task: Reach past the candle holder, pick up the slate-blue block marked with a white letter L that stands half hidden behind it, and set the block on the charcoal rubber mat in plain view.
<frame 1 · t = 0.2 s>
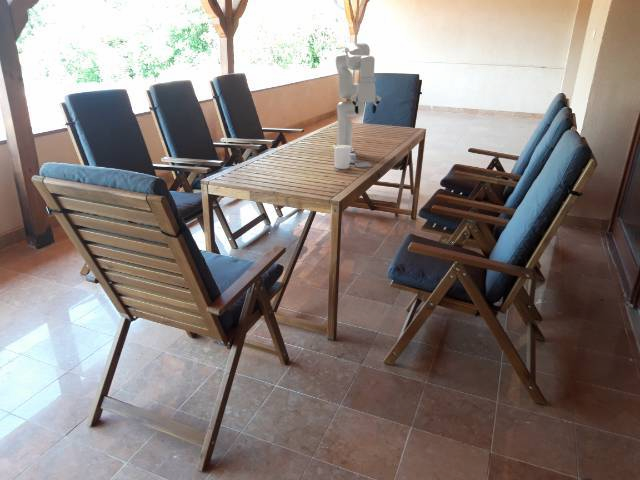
hand: (365, 113, 264), 30 cm above the table, tool pointing down, fingers open, 9 cm apart
letter block: (350, 162, 287), on the table
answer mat: (362, 165, 280), on the table
candle holder: (341, 167, 276), on the table
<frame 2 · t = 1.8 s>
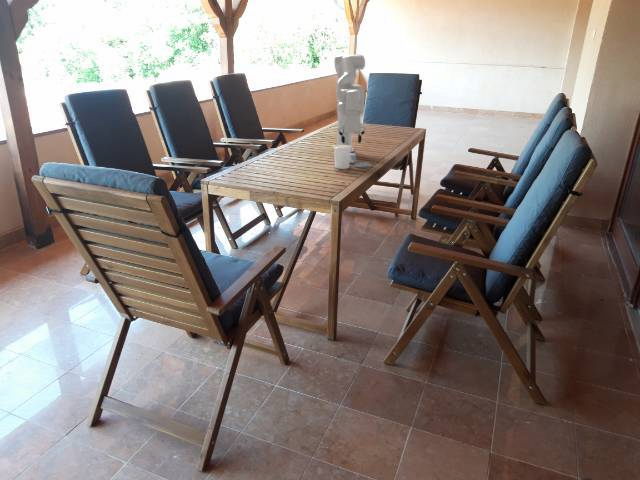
hand: (351, 142, 282), 12 cm above the table, tool pointing down, fingers open, 9 cm apart
nothing on the table moved.
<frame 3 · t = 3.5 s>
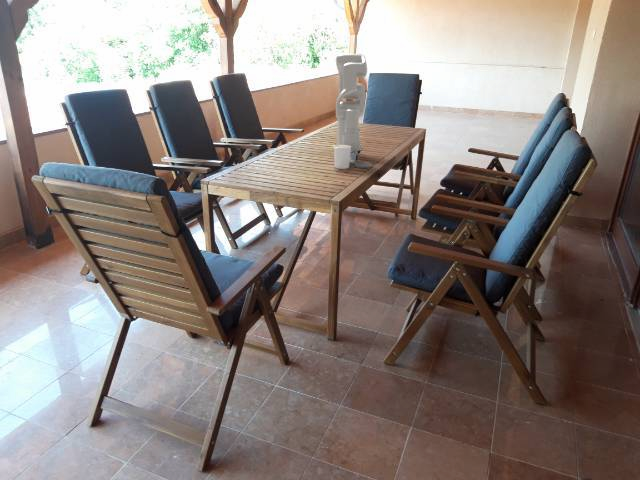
hand: (350, 161, 287), 0 cm above the table, tool pointing down, fingers closed on letter block, 5 cm apart
letter block: (350, 162, 287), on the table, touching gripper
everything else where it was.
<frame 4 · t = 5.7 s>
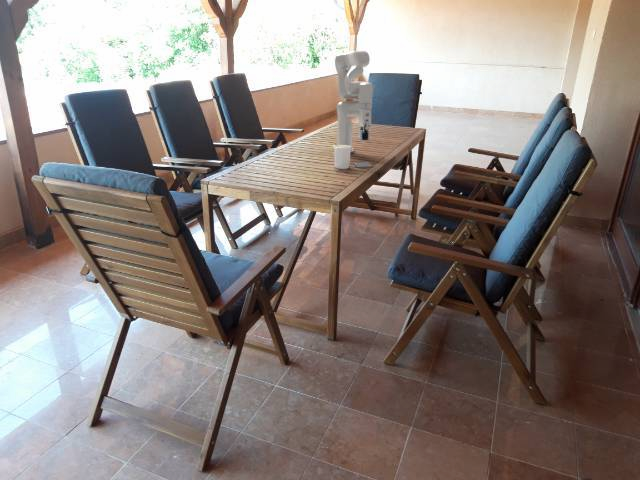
hand: (363, 138, 274), 16 cm above the table, tool pointing down, fingers closed on letter block, 5 cm apart
letter block: (363, 139, 274), point 15 cm above the table, touching gripper
everything else where it was.
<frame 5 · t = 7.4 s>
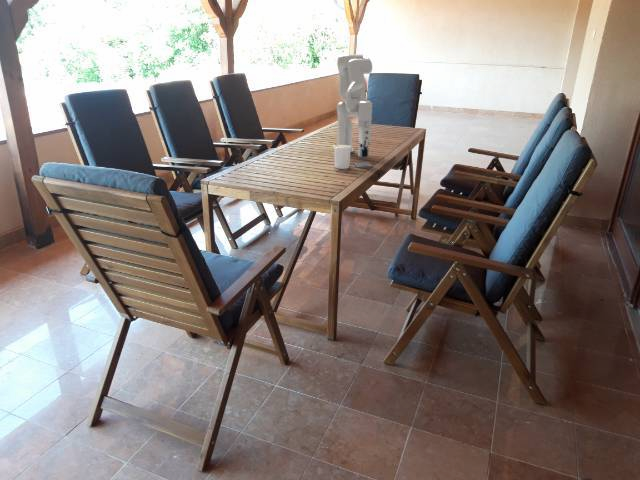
hand: (363, 155, 277), 6 cm above the table, tool pointing down, fingers closed on letter block, 5 cm apart
letter block: (363, 156, 278), point 5 cm above the table, touching gripper
everything else where it was.
when the fingers open (3 cm above the table, at t = 8.4 s): letter block drops 2 cm, resting on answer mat.
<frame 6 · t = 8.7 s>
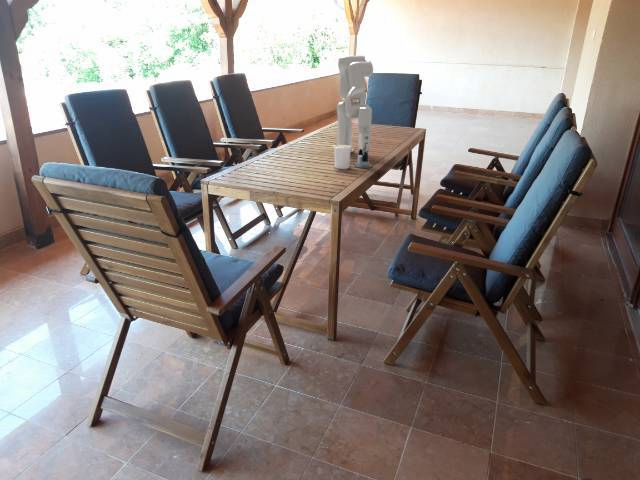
hand: (362, 159, 279), 3 cm above the table, tool pointing down, fingers open, 7 cm apart
letter block: (362, 164, 280), point 1 cm above the table, touching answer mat
everything else where it was.
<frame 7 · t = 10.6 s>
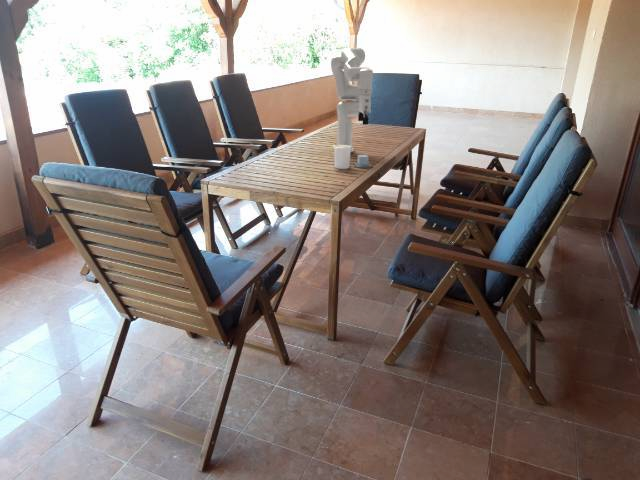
hand: (363, 122, 278), 23 cm above the table, tool pointing down, fingers open, 9 cm apart
nothing on the table moved.
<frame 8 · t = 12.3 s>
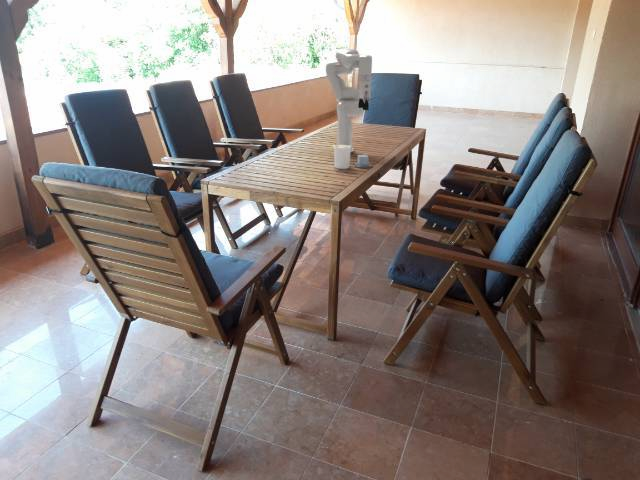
hand: (363, 108, 281), 30 cm above the table, tool pointing down, fingers open, 9 cm apart
nothing on the table moved.
at the end: letter block 0.1 cm off-centre on the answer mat, point 0.6 cm above the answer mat's base; letter block tilted 0°; candle holder moved 0.2 cm from its start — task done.
